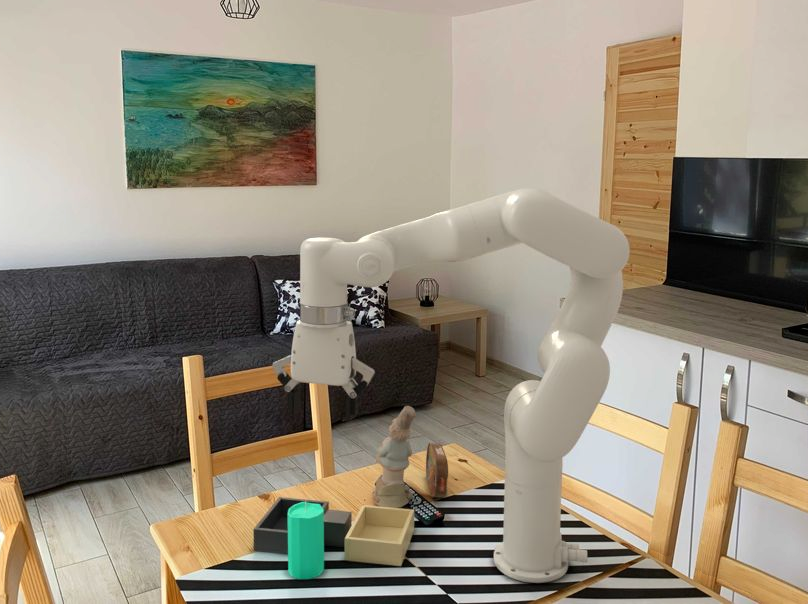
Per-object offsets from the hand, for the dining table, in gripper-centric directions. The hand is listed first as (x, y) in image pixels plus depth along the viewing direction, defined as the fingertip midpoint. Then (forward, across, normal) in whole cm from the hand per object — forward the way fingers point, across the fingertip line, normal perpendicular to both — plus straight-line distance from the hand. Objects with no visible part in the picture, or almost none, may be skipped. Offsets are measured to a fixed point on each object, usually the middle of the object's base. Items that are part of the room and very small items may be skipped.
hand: (322, 415), depth 117 cm
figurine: (+26, -6, -26) cm, 37 cm away
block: (+26, 0, -8) cm, 27 cm away
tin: (+26, -14, -33) cm, 44 cm away
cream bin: (+26, -8, -9) cm, 29 cm away
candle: (+26, +2, +2) cm, 27 cm away
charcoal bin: (+26, +8, -8) cm, 29 cm away
